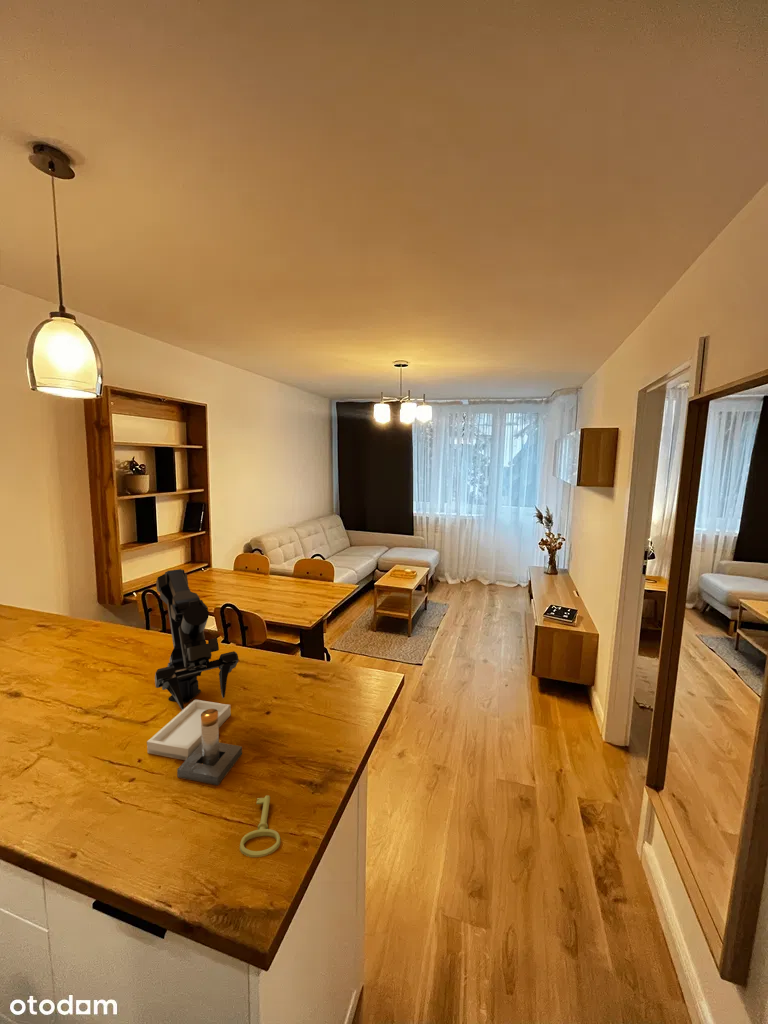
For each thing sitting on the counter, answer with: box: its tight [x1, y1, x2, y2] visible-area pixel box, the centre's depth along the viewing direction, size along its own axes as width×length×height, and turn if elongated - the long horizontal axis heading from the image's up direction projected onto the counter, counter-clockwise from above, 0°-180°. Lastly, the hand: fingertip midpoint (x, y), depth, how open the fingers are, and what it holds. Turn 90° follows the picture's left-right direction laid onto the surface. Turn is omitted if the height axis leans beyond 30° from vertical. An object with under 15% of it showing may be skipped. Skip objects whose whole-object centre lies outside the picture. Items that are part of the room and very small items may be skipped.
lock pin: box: [201, 709, 220, 766], centre depth 97 cm, size 4×4×13 cm
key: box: [239, 794, 281, 858], centre depth 82 cm, size 7×12×2 cm, turn 26°
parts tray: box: [146, 699, 232, 761], centre depth 109 cm, size 11×18×3 cm, turn 168°
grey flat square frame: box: [176, 741, 243, 786], centre depth 98 cm, size 10×10×2 cm
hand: (203, 703), depth 101 cm, fingers open, 9 cm apart
